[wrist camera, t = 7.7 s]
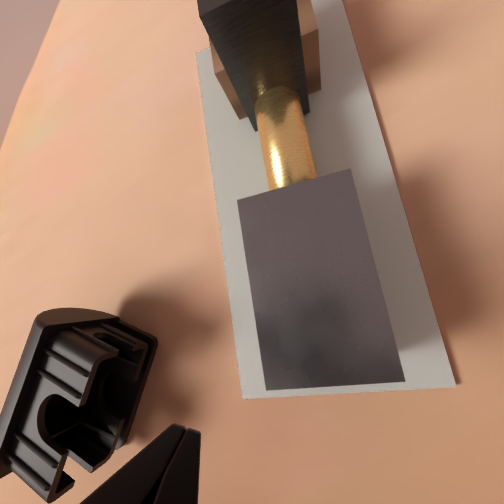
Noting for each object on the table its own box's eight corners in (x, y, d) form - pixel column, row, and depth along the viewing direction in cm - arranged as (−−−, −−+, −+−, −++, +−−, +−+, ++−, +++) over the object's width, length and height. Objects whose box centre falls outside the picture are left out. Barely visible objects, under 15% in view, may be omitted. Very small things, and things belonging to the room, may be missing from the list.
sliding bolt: (341, 245, 17) (350, 198, 8) (277, 258, 18) (229, 228, 10) (293, 42, 20) (266, -136, 12) (242, 64, 22) (185, -84, 13)
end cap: (101, 304, 23) (14, 309, 17) (162, 333, 21) (88, 350, 15) (64, 412, 23) (-41, 459, 16) (123, 454, 20) (27, 527, 14)
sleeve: (384, 355, 16) (405, 381, 11) (283, 364, 17) (266, 390, 13) (345, 199, 18) (350, 168, 13) (259, 221, 19) (236, 200, 15)
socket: (321, 89, 20) (318, 28, 15) (239, 120, 21) (214, 73, 17) (304, 23, 21) (297, -52, 16) (228, 57, 23) (203, -2, 18)
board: (454, 385, 15) (456, 387, 14) (244, 397, 18) (242, 399, 18) (338, -10, 21) (338, -14, 20) (197, 56, 24) (195, 53, 24)
